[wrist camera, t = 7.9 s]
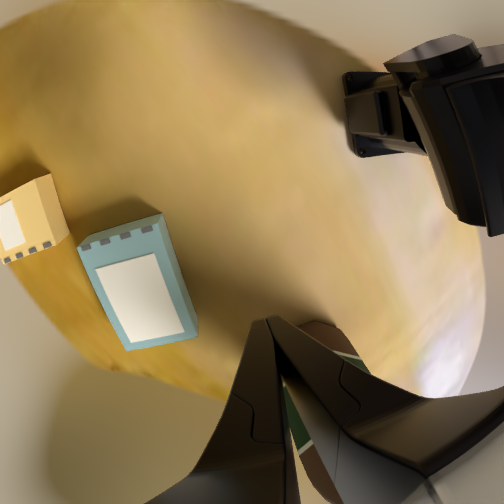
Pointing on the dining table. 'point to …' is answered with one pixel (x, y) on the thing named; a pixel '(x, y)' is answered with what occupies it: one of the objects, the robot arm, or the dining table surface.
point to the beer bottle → (303, 442)
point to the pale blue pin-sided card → (140, 283)
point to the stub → (30, 219)
